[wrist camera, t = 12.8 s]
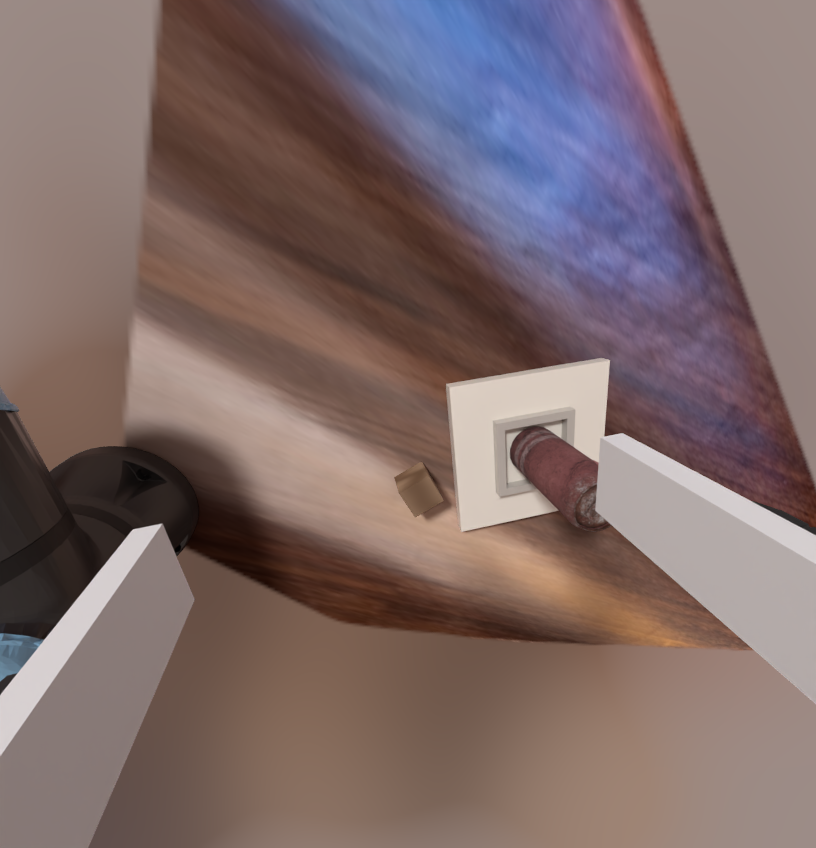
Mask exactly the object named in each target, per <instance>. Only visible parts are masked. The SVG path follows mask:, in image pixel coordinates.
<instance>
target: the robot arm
mask: <svg viewBox="0 0 816 848" xmlns="http://www.w3.org/2000/svg"><path fill="white" fill-rule="evenodd" d="M18 411H19V409H18V407H17V406H16V405H14V404H12V403H10V401H9V400H8V398H7V397H6V395H5V394H4V392H3V390H2V389H1V387H0V848H88V847H89V844H90V842H91V839H92V837H93V835H94V833H95V830H96V828H97V826H98V823H99V821H100V819H101V817H102V814H103V812H104V809H105V807H106V805H107V803H108V800H109V798H110V796H111V793H112V791H113V789H114V786H115V784H116V782H117V779H118V777H119V774H120V772H121V770H122V768H123V765H124V763H125V761H126V758H127V756H128V754H129V751H130V749H131V747H132V744H133V742H134V740H135V738H136V735H137V733H138V731H139V728H140V726H141V724H142V721H143V719H144V717H145V714H146V712H147V709H148V707H149V705H150V703H151V700H152V698H153V696H154V693H155V691H156V688H157V686H158V684H159V682H160V679H161V677H162V675H163V672H164V670H165V668H166V666H167V663H168V661H169V658H170V656H171V654H172V651H173V649H174V647H175V645H176V642H177V640H178V638H179V635H180V633H181V631H182V628H183V626H184V624H185V621H186V619H187V617H188V614H189V612H190V610H191V607H192V605H193V603H194V601H195V599H194V596H193V594H192V592H191V590H190V587H189V585H188V582H187V580H186V578H185V575H184V573H183V571H182V568H181V566H180V563H179V561H178V559H177V556H178V555H179V553H180V552H181V551H182V550H183V549H184V547H185V546H186V545H187V543H188V541H189V539H190V537H191V536H192V534H193V532H194V530H195V528H196V525H197V521H198V513H199V510H198V502H197V498H196V495H195V493H194V490H193V489H192V487H191V485H190V483H189V482H188V481H187V479H186V478H185V477H184V476H183V475H182V474H181V473H180V472H179V471H178V470H177V469H176V468H175V467H174V466H172V465H171V464H169V463H168V462H166V461H165V460H163V459H161V458H159V457H157V456H155V455H153V454H151V453H148V452H145V451H142V450H138V449H134V448H128V447H118V446H113V447H112V446H108V447H99V448H93V449H89V450H86V451H83V452H80V453H78V454H76V455H74V456H72V457H70V458H68V459H67V460H65V461H64V462H63V463H61V464H59V465H58V466H57V467H55V468H54V469H52V470H51V471H50V472H49V471H48V469H47V467H46V465H45V463H44V461H43V460H42V458H41V456H40V454H39V452H38V450H37V449H36V447H35V445H34V443H33V441H32V439H31V438H30V436H29V434H28V432H27V430H26V428H25V426H24V424H23V422H22V421H21V419H20V417H19V415H18V413H17V412H18ZM595 511H596V512H597V513H598V514H600V515H601V516H602V517H603V518H604V519H605V520H606V521H608V522H609V523H610V524H611V525H612V526H613V527H614V528H616V529H617V530H618V531H619V532H620V533H621V534H622V535H624V536H625V537H626V538H627V539H628V540H629V541H630V542H632V543H633V544H634V545H635V546H636V547H637V548H638V549H639V550H641V551H642V552H643V553H644V554H645V555H646V556H647V557H649V558H650V559H651V560H652V561H653V562H654V563H655V564H657V565H658V566H659V567H660V568H661V569H662V570H663V571H665V572H666V573H667V574H668V575H669V576H670V577H671V578H673V579H674V580H675V581H676V582H677V583H678V584H679V585H681V586H682V587H683V588H684V589H685V590H686V591H687V592H688V593H690V594H691V595H692V596H693V597H694V598H695V599H696V600H698V601H699V602H700V603H701V604H702V605H703V606H704V607H706V608H707V609H708V610H709V611H710V612H711V613H712V614H714V615H715V616H716V617H717V618H718V619H719V620H720V621H722V622H723V623H724V624H725V625H726V626H727V627H728V628H729V629H731V630H732V631H733V632H734V633H735V634H736V635H737V636H739V637H740V638H741V639H742V640H743V641H744V642H745V643H747V644H748V645H749V646H750V647H751V648H752V649H753V650H755V651H756V652H757V653H758V654H759V655H760V656H761V657H763V658H764V659H765V660H766V661H767V662H768V663H769V664H771V665H772V666H773V667H774V668H775V669H776V670H777V671H778V672H780V673H781V674H782V675H783V676H784V677H785V678H786V679H788V680H789V681H790V682H791V683H792V684H793V685H795V686H796V687H797V688H798V689H799V690H800V691H801V692H803V693H804V694H805V695H806V696H807V697H808V698H809V699H810V700H812V701H813V702H814V703H815V704H816V528H815V527H812V528H810V527H809V525H808V524H807V523H805V522H803V521H801V520H799V519H797V518H795V517H793V516H791V515H789V514H787V513H785V512H784V511H781V510H778V509H775V508H772V507H769V506H766V505H763V504H760V503H757V502H754V501H750V500H748V499H746V498H744V497H742V496H740V495H738V494H737V493H735V492H733V491H731V490H729V489H727V488H725V487H723V486H721V485H719V484H718V483H716V482H714V481H712V480H710V479H708V478H706V477H704V476H702V475H701V474H699V473H697V472H695V471H693V470H691V469H689V468H687V467H685V466H684V465H682V464H680V463H678V462H676V461H674V460H672V459H670V458H668V457H666V456H665V455H663V454H661V453H659V452H657V451H655V450H653V449H651V448H649V447H648V446H646V445H644V444H642V443H640V442H638V441H636V440H634V439H632V438H631V437H629V436H627V435H625V434H623V433H621V434H616V435H611V436H606V437H601V438H600V451H599V465H598V480H597V494H596V508H595Z"/></svg>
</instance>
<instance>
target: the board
mask: <svg viewBox="0 0 816 848" xmlns="http://www.w3.org/2000/svg"><path fill="white" fill-rule="evenodd" d="M609 364H610V360H607V359H604V358H598V359H593V360H587V361H581V362H575V363H569V364H563V365H557V366H551V367H545V368H539V369H533V370H527V371H521V372H515V373H509V374H503V375H498V376H492V377H486V378H480V379H474V380H468V381H462V382H456V383H450V384H446V392H447V404H448V415H449V427H450V439H451V450H452V462H453V474H454V485H455V497H456V508H457V520H458V526H459V528H460V530H461V532H463V531H468V530H472V529H477V528H481V527H486V526H491V525H495V524H500V523H504V522H509V521H513V520H518V519H523V518H527V517H532V516H536V515H541V514H545V513H550V512H554V511H559V510H558V509H557V508H556V507H555V506H554V505H553V504H552V503H551V502H550V501H549V500H548V499H547V498H546V497H545V496H544V495H543V494H542V493H541V492H540V491H539V490H538V489H537V488H536V487H535V486H534V485H533V484H532V483H531V482H530V481H529V480H528V479H527V478H526V477H525V476H524V475H523V474H522V473H521V472H520V471H519V470H518V469H517V468H516V467H515V466H514V465H513V464H512V461H511V459H510V448H511V445H512V442H513V440H514V439H515V437H516V436H517V435H518V434H519V433H520V432H521V431H523V430H525V429H527V428H530V427H535V426H538V427H544V428H546V429H548V430H550V431H551V432H553V433H554V434H555V435H557V436H558V437H560V438H561V439H563V440H564V441H566V442H567V443H569V444H570V445H571V446H573V447H574V448H576V449H577V450H579V451H580V452H582V453H583V454H585V455H586V456H587V457H589V458H590V459H592V460H594V461H596V462H598V463H599V451H600V438H601V437H604V431H605V418H606V404H607V391H608V377H609Z"/></svg>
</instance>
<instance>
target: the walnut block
mask: <svg viewBox="0 0 816 848" xmlns="http://www.w3.org/2000/svg"><path fill="white" fill-rule="evenodd" d="M394 478H395V481H396V485H397V488H398V491H399V494H400V495H401V497H402V498H403V500H404V501H405V503H406V504H407V506H408V507H409V509H410V510H411V512H412V513H413V515H414V516H415V517H417V516H419V515H420V514H422V513H424V512H426V511H427V510H429V509H431V508H433V507H434V506H436V505H438V504H440V503H441V502H443V501H444V500H443V498H442V496H441V494H440V492H439V489H438V487H437V485H436V484H435V482H434V480H433V479H432V477H431V475H430V474H429V472H428V471H427V469H426V467H425V466H424V464H423V462H420V463H418V464H417V465H415V466H413V467H411V468H410V469H408V470H406V471H405V472H403V473H401V474H399V475H398V476H396V477H394Z"/></svg>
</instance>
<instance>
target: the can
mask: <svg viewBox="0 0 816 848" xmlns="http://www.w3.org/2000/svg"><path fill="white" fill-rule="evenodd" d="M510 459H511V461H512V464H513V465H514V466H515V467H516V468H517V469H518V470H519V471H520V472H521V473H522V474H523V475H524V476H525V477H526V478H527V479H528V480H529V481H530V482H531V483H532V484H533V485H534V486H535V487H536V488H537V489H538V490H539V491H540V492H541V493H542V494H543V495H544V496H545V497H546V498H547V499H548V500H549V501H550V502H551V503H552V504H553V505H554V506H555V507H556V508H557V509H558V510H559V511H560V512H561V513H562V514H563V515H564V516H565V517H566V518H567V519H568V520H569V521H570V522H571V523H572V524H573V525H574V526H576V527H578V528H580V529H584V530H586V531H592V532H597V531H601V530H605V529H606V528H608V527H610V526H612V525H611V524H610V523H609V522H608V521H606V520H605V519H604V518H603V517H602V516H601V515H600V514H598V513H597V512H596V511H595V508H596V494H597V480H598V465H599V463H598V462H596V461H594V460H592V459H590V458H589V457H587V456H586V455H585V454H583V453H582V452H580V451H579V450H577V449H576V448H574V447H573V446H571V445H570V444H569V443H567V442H566V441H564V440H563V439H561V438H560V437H558V436H557V435H555V434H554V433H553V432H551V431H550V430H548V429H546V428H544V427H538V426H535V427H530V428H527V429H525V430H523V431H521V432H520V433H519V434H518V435H517V436H516V437H515V439H514V440H513V442H512V445H511V448H510Z"/></svg>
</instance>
